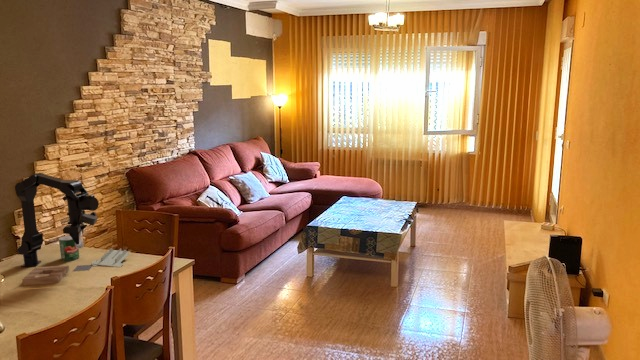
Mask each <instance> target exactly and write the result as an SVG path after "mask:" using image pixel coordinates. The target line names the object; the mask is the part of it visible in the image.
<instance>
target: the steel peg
mask: <svg viewBox="0 0 640 360" xmlns="http://www.w3.org/2000/svg"><path fill="white" fill-rule="evenodd" d="M83 239H84V238H83V236H82V231H81V232H80V239H79V244H76V243H75V247H76V248H78V249H83V248H84V240H83Z"/></svg>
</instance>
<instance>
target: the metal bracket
mask: <svg viewBox="0 0 640 360" xmlns="http://www.w3.org/2000/svg"><path fill="white" fill-rule="evenodd" d="M130 254H131V251H127V249H124V250H122V248H119V249H118V250H116V249H113V248H112V247H111V248H110V249H109V250H108V251H107V252H105V253H104V254H103V255H102V256H101V257H100V259H98V260H97V259H96V260H92V262H91V264H90V265H93V266H92V267H97V266H103V267H109V268H110V267H111V268H121V267H122V266H124V263H122V262H123V261H124V260H125V259H126V258H127V257H128V256H129V255H130Z"/></svg>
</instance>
